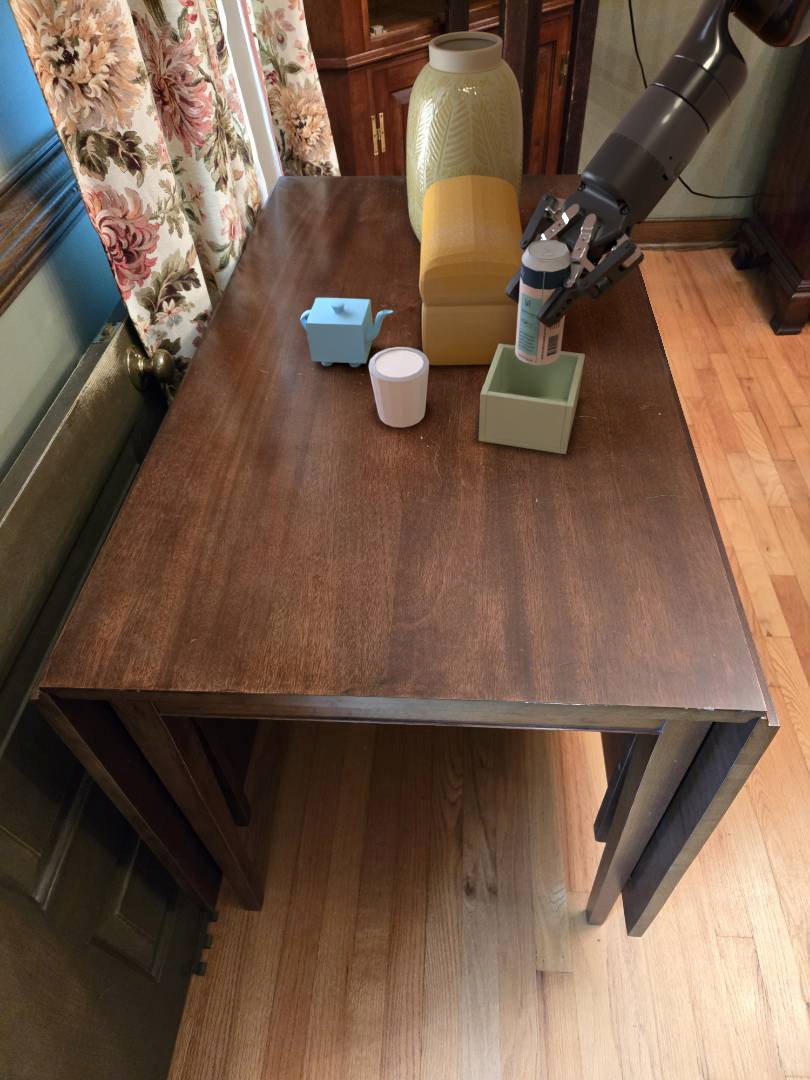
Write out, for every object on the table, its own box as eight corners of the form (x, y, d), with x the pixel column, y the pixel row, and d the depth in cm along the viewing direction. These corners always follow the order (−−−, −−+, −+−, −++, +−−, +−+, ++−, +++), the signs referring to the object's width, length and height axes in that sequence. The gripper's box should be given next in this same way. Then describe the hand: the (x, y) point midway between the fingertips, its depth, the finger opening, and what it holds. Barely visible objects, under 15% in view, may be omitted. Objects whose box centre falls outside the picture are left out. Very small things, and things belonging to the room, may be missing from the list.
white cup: (364, 405, 88) (359, 355, 83) (415, 389, 90) (413, 339, 85) (387, 437, 84) (383, 387, 79) (440, 419, 86) (439, 369, 80)
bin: (577, 401, 87) (585, 353, 82) (565, 454, 81) (573, 406, 76) (496, 389, 89) (498, 343, 84) (478, 440, 83) (480, 393, 78)
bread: (522, 365, 92) (532, 251, 81) (421, 366, 93) (417, 254, 82) (511, 269, 108) (518, 164, 97) (425, 271, 109) (422, 167, 98)
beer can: (561, 345, 79) (575, 238, 70) (557, 371, 76) (571, 262, 67) (517, 341, 80) (525, 236, 71) (512, 366, 77) (519, 259, 68)
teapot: (399, 344, 97) (396, 292, 91) (392, 370, 93) (388, 318, 87) (311, 340, 98) (303, 289, 93) (301, 366, 94) (292, 314, 89)
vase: (391, 232, 118) (379, 37, 98) (484, 208, 123) (490, 16, 103) (439, 278, 108) (436, 69, 88) (538, 250, 112) (557, 45, 92)
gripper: (576, 110, 69) (467, 264, 75) (682, 157, 61) (550, 328, 66) (611, 155, 75) (507, 296, 80) (713, 205, 66) (588, 359, 72)
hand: (527, 310), depth 73 cm, fingers closed on beer can, 4 cm apart
